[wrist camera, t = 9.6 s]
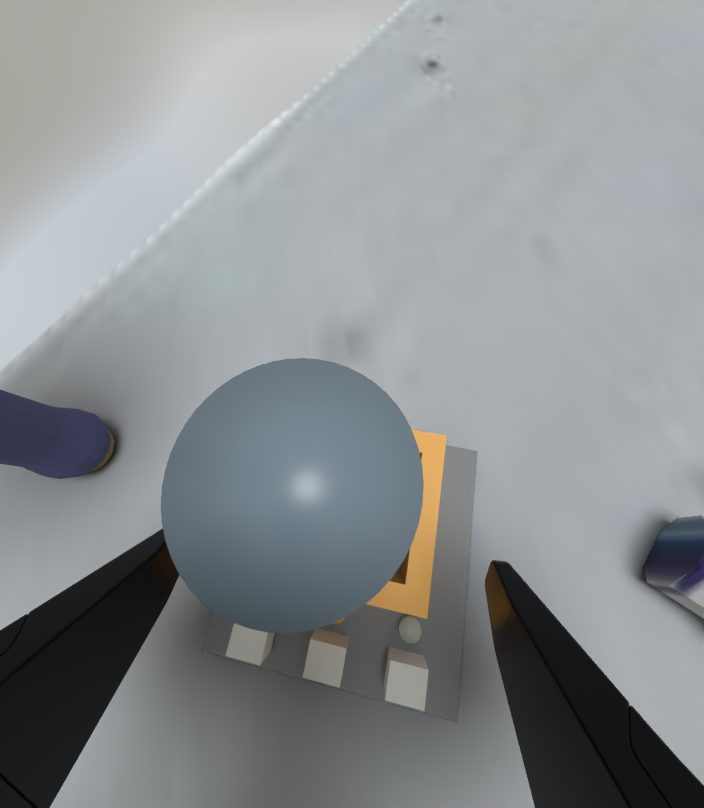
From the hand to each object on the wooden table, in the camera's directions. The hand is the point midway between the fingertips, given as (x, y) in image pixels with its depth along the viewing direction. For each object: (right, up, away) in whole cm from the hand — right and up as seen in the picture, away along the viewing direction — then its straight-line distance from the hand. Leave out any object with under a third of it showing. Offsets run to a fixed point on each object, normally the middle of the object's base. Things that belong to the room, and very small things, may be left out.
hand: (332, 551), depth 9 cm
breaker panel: (0, -3, +8) cm, 9 cm away
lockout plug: (+1, -1, +8) cm, 8 cm away
